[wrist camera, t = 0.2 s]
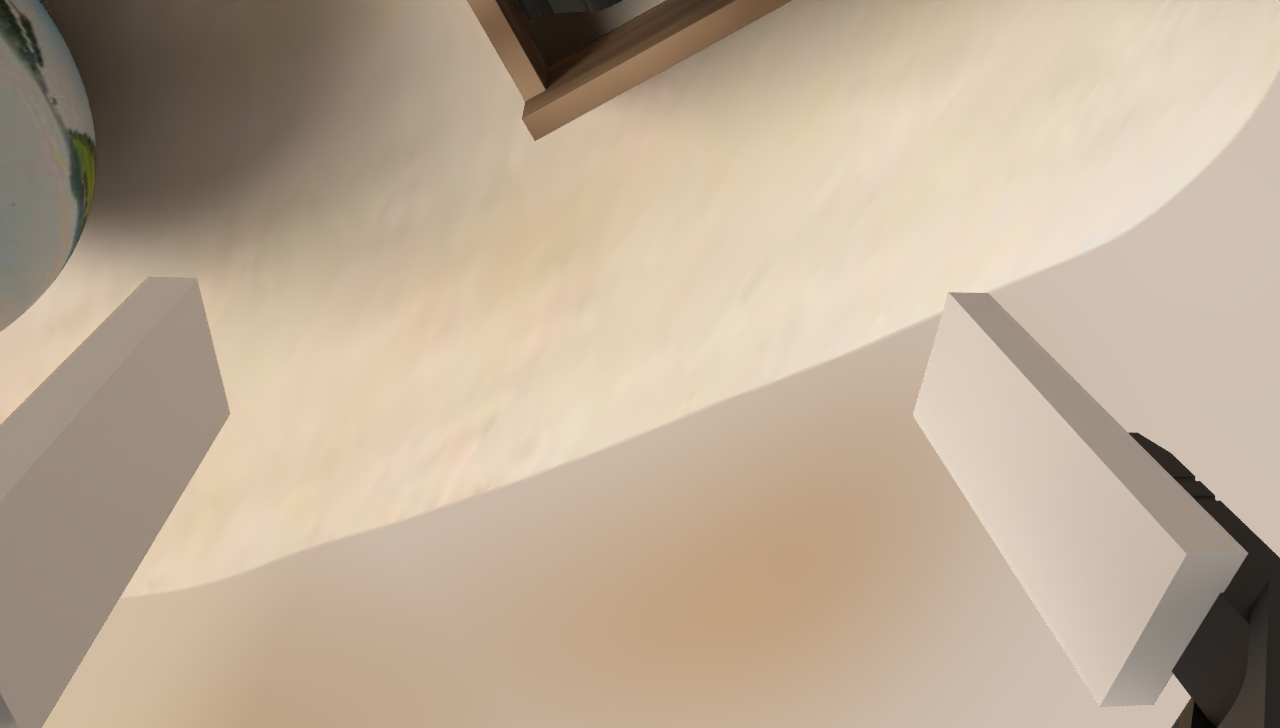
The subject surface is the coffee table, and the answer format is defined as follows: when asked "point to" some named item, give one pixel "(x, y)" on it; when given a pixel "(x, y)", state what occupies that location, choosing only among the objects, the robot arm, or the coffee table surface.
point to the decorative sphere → (39, 155)
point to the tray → (608, 53)
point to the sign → (564, 6)
